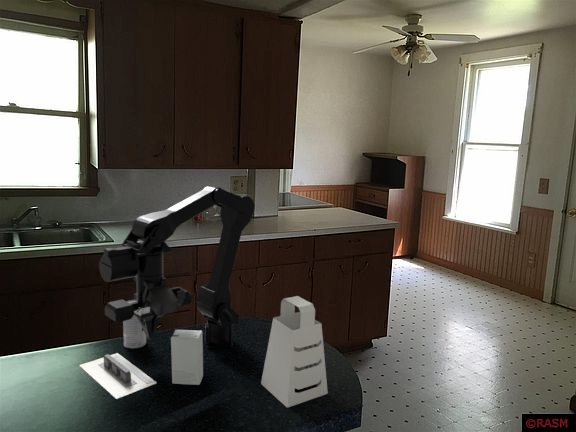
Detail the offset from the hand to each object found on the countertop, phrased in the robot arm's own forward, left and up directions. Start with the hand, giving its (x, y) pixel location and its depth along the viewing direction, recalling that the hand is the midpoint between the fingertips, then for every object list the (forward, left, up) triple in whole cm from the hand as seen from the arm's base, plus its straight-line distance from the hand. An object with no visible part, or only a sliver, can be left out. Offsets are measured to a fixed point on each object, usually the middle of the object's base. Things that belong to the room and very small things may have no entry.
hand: (150, 338), depth 106 cm
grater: (-31, +13, -7) cm, 35 cm away
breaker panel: (+7, +5, -7) cm, 11 cm away
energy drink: (+5, -10, -7) cm, 13 cm away
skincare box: (-9, +9, -7) cm, 14 cm away
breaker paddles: (+7, +5, -6) cm, 10 cm away
